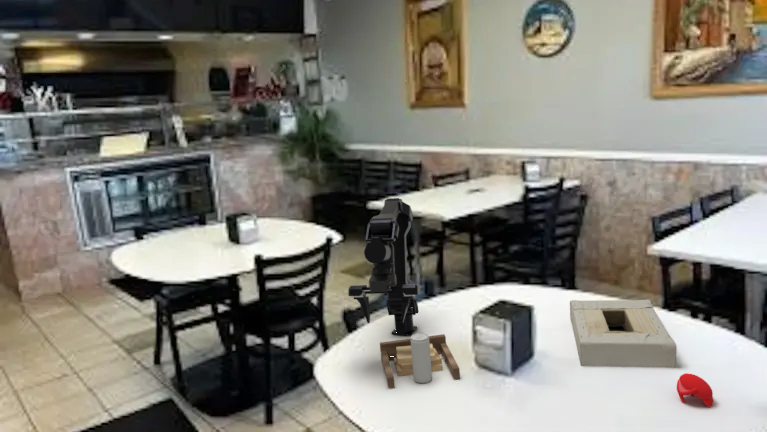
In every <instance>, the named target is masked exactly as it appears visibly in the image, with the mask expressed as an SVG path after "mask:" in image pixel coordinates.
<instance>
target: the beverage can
mask: <svg viewBox="0 0 767 432" xmlns="http://www.w3.org/2000/svg"><path fill="white" fill-rule="evenodd" d="M428 336H429V335H428V333H424V332H417V333H413V334H412V335H411V336H410V339H411V340H410V341H411V353H412V364H413V374H412V375H413V380H414V381H415V382H416V383H418V384H427V383H429V382H431V380H432V378H433V375H432V374H433V373H432V372H433V371H432V372H431V359H430V343H429V337H428Z"/></svg>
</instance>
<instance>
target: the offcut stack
mask: <svg viewBox="0 0 767 432" xmlns="http://www.w3.org/2000/svg"><path fill="white" fill-rule="evenodd" d="M396 351H397V354H396V358H394V360H393V363H394V366H395V370H396V374H397V376H398V377H403V376H408V375H413V364H412V353H411V346H400V347H396ZM430 359H431V372H438V371H443V361H442V359H443V358H442V357H441V355H440V354H438V353H437V351H436V350H435V348H433V345H432V344H430Z"/></svg>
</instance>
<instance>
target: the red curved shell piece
mask: <svg viewBox="0 0 767 432" xmlns="http://www.w3.org/2000/svg"><path fill="white" fill-rule="evenodd" d="M676 391H677V394H678V396H679V398H680V401H681V403H683V404H685V403H686V401H687V400H686V399H685V396H691V397H693V396H695V397H697V398H699V399H701V401H702V402H703V404H704V405H706V406H707V407H708V408H711V407H713V405H714V396H713V395H714V394H713V389H712V387H711V386H710V384H709V383H708V382H707V381H706V380H705V379H703V378H702V377H700V376H699V375H696V374H693V373H689V372H688V373H683V374H680V376H679V378H678V380H677V383H676Z"/></svg>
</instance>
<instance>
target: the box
mask: <svg viewBox="0 0 767 432" xmlns="http://www.w3.org/2000/svg"><path fill="white" fill-rule="evenodd" d="M569 313H570V314H569V317H570V323H571V326H572V327H571V328H572V333H573V337H574V341H575V344H576V345H575V346H576V351H577V355H578V361H579V365H580V367H620V368H624V367H625V368H627V367H628V368H663V369H665V368H669V369H671V368H673V369H675V368H676V366H677V365H676V364H677V343H676V342H675V340H674V339H673V337H672V336H671V335H670V333H669V332H668V330H667V328H666V327H665V325H664V323H663V322H662V320H661V319H660V317H659V316H658V314H657V312H656V311H655V309H654V306H653V305H652V302H651V300H650V299H631V300H630V299H628V300H627V299H625V300H623V299H621V300H620V299H619V300H615V299H613V300H612V299H611V300H603V299H602V300H601V299H600V300H577V299H575V300H574V299H573V300H572V299H571V300H569ZM609 327H610V328H617V327H622V328H623V330H624V331H623V330H619V329H611V330H610V328H609Z"/></svg>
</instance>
